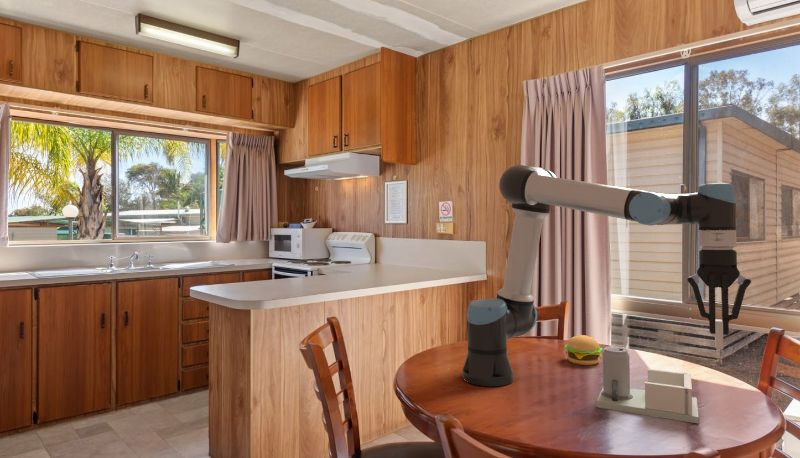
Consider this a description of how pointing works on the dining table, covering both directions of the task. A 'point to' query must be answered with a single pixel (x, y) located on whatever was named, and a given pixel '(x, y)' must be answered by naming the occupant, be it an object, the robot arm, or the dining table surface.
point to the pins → (614, 390)
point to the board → (637, 405)
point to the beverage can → (616, 370)
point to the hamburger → (583, 350)
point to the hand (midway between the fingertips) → (719, 347)
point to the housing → (669, 391)
